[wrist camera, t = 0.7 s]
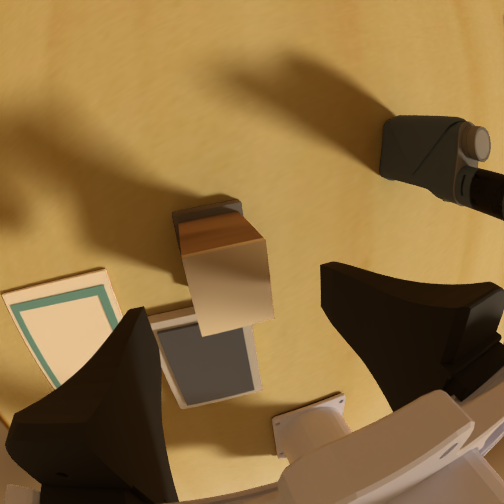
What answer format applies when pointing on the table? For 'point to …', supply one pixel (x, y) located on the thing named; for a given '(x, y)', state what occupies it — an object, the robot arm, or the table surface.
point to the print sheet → (65, 321)
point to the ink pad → (205, 359)
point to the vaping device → (443, 160)
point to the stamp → (224, 267)
